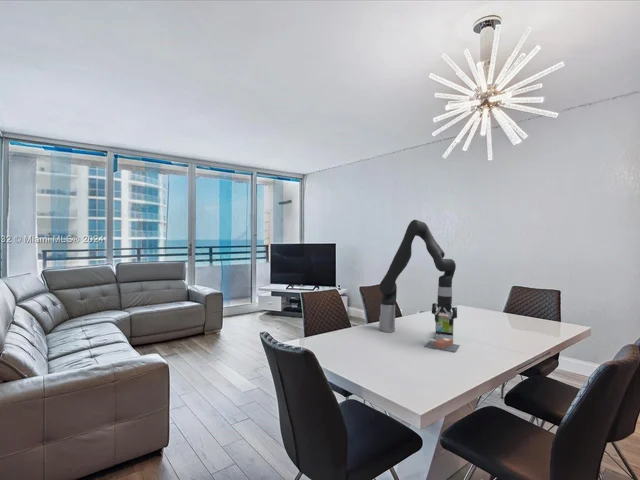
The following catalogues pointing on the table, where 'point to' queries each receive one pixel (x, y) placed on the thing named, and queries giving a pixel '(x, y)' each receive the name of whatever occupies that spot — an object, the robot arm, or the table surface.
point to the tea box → (444, 327)
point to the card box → (443, 343)
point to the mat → (450, 348)
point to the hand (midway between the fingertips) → (443, 323)
